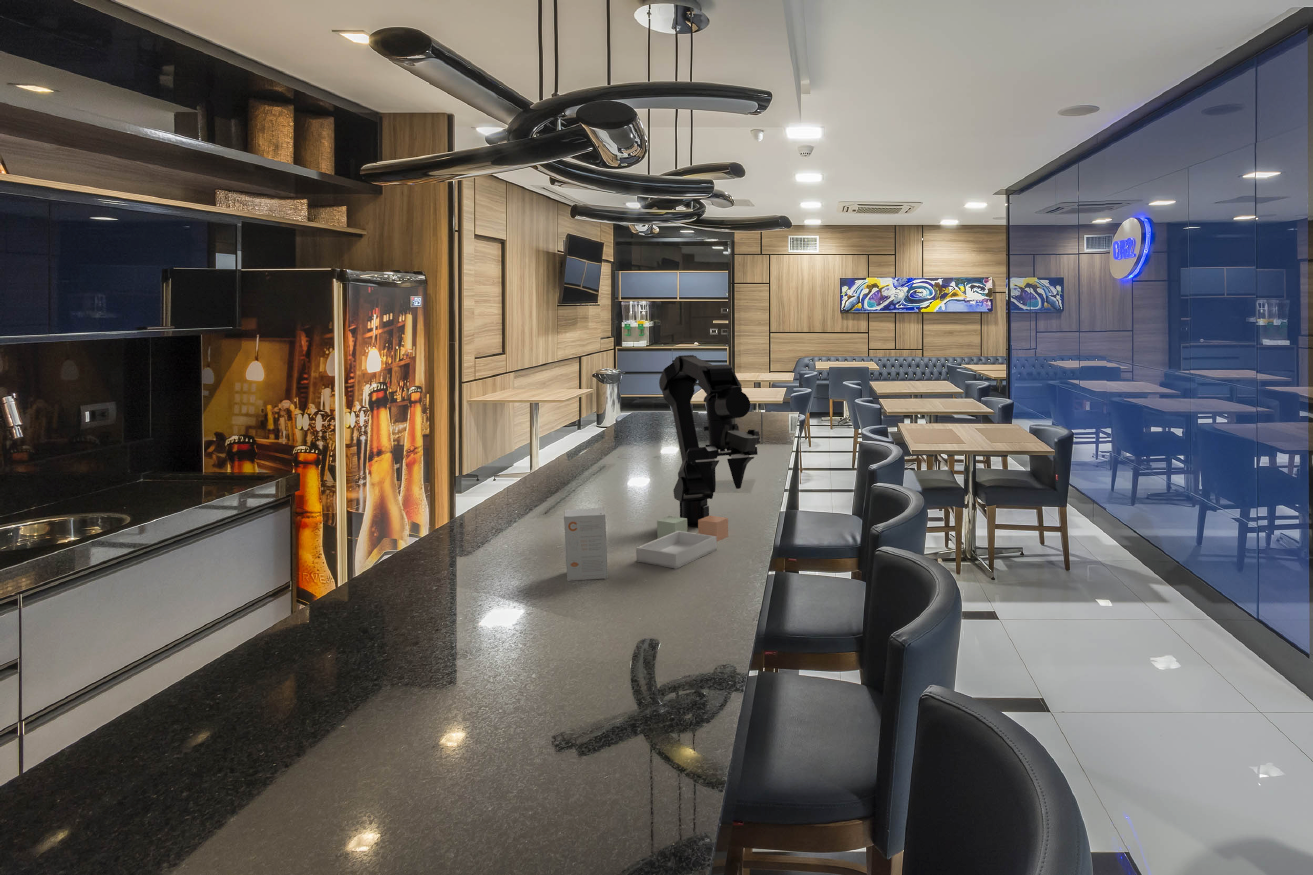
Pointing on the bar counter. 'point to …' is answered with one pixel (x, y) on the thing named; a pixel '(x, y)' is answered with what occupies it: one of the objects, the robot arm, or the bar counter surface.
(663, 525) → the pale green block
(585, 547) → the small box
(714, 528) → the brick
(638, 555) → the tote
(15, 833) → the bar counter surface
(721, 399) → the robot arm
